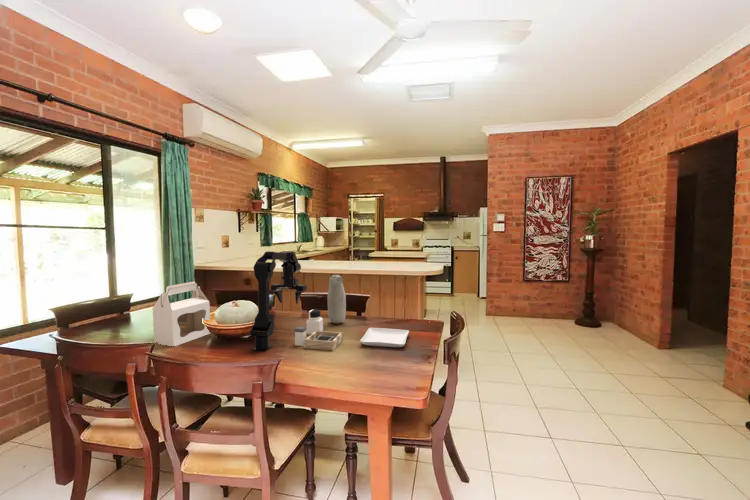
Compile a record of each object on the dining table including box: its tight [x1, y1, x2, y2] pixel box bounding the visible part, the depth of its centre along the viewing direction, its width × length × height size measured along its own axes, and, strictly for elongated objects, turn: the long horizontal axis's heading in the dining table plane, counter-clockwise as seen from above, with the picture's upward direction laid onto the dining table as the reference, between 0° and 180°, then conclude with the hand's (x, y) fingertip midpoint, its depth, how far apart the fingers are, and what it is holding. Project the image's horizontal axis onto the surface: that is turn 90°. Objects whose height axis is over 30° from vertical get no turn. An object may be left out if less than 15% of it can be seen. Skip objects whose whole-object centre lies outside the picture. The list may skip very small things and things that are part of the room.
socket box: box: [304, 330, 343, 351], centre depth 166 cm, size 14×14×4 cm
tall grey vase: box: [327, 274, 347, 325], centre depth 200 cm, size 10×10×28 cm
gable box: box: [152, 280, 211, 347], centre depth 175 cm, size 22×13×28 cm, turn 158°
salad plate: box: [359, 327, 410, 348], centre depth 170 cm, size 21×21×3 cm
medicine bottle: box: [305, 308, 324, 335], centre depth 184 cm, size 7×7×12 cm
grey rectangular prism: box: [294, 326, 307, 347], centre depth 166 cm, size 4×4×8 cm
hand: (289, 303), depth 187 cm, fingers open, 9 cm apart
